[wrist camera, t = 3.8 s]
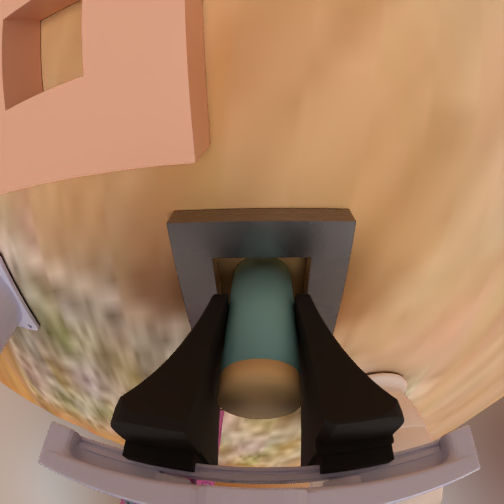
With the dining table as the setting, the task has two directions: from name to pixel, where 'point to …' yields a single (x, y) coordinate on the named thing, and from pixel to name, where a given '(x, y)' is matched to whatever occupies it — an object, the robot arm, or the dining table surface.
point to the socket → (103, 91)
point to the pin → (260, 343)
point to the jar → (405, 430)
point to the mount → (262, 250)
